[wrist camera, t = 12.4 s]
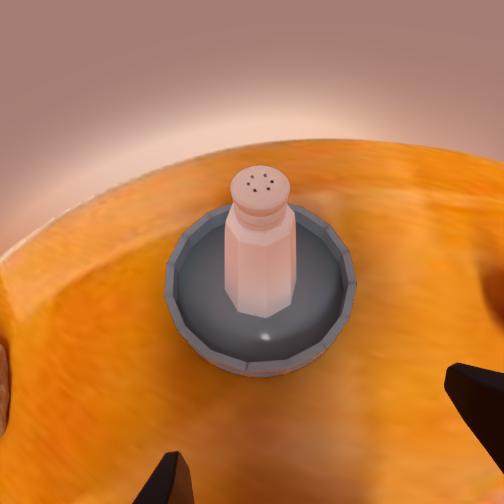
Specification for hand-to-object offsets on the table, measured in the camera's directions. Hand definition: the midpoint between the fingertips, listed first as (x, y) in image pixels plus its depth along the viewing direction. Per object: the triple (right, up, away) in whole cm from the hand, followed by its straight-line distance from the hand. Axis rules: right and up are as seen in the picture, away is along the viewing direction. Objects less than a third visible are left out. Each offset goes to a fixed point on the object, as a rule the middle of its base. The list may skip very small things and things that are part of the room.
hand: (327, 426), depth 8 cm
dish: (-2, +2, +17) cm, 17 cm away
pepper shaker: (-2, +3, +16) cm, 16 cm away
